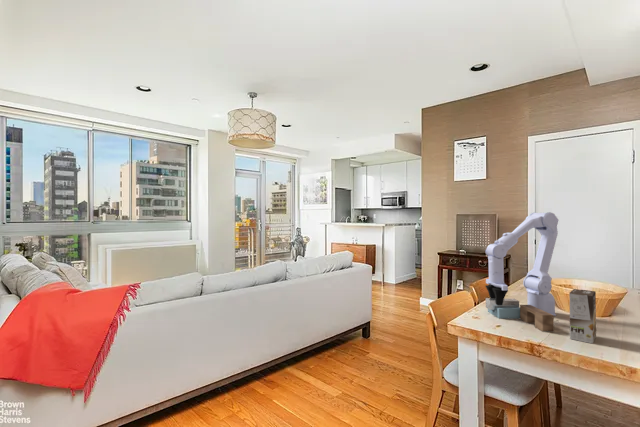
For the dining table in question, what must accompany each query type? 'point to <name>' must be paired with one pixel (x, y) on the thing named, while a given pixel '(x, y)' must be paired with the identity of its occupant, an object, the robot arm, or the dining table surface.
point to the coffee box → (583, 315)
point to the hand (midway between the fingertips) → (496, 303)
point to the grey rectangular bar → (506, 304)
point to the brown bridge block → (537, 317)
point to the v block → (506, 313)
